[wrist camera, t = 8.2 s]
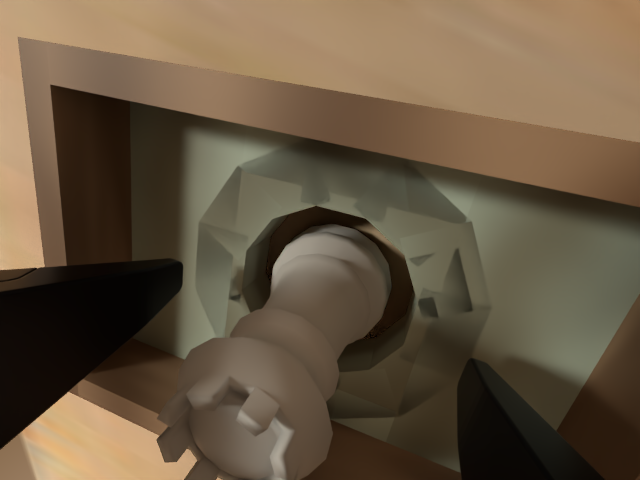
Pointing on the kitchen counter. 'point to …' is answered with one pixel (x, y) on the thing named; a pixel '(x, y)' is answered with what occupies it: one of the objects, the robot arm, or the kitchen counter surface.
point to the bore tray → (383, 213)
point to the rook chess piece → (278, 364)
